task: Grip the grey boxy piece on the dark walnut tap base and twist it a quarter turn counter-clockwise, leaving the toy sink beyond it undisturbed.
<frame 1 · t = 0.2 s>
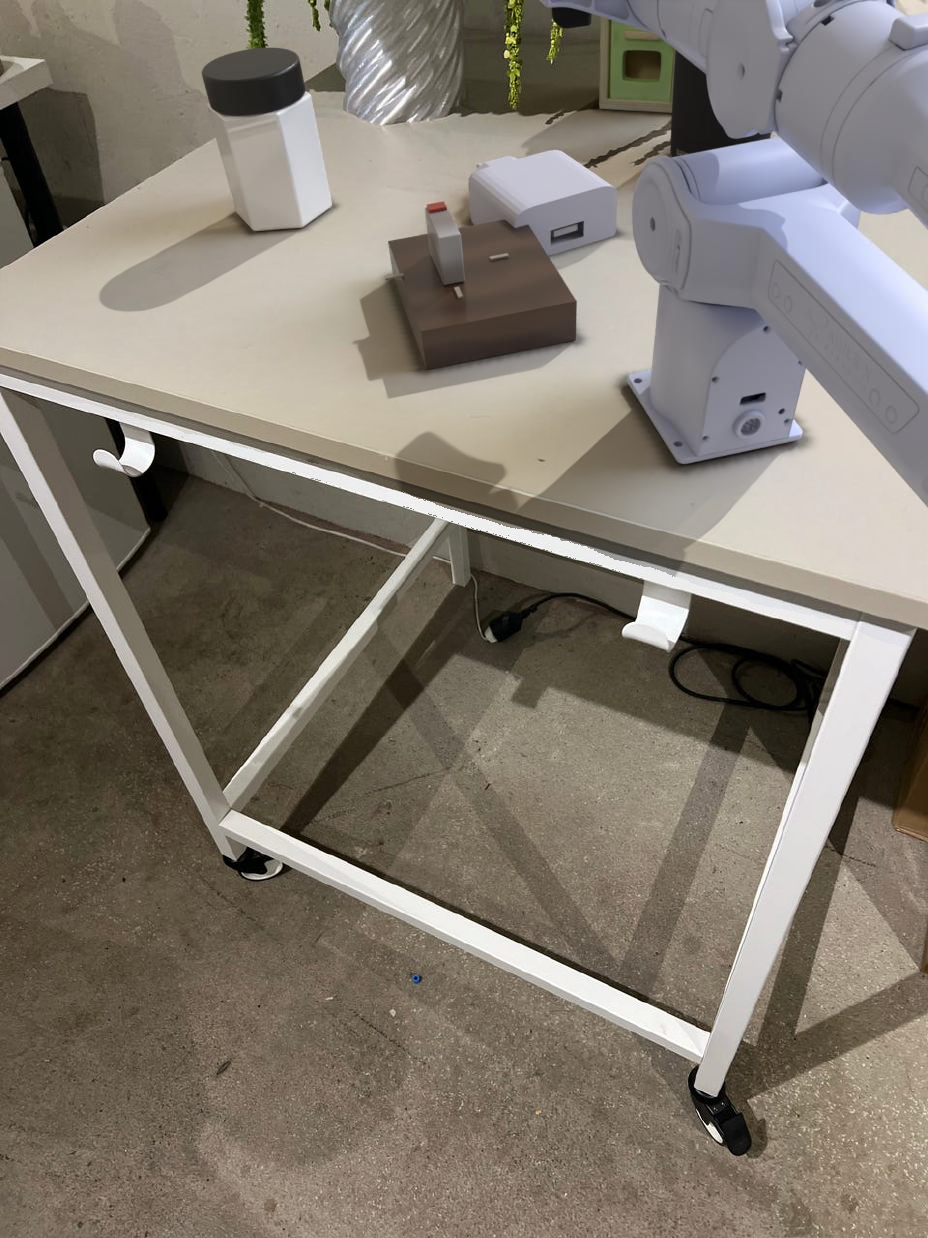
grey boxy piece: (444, 242, 63), point 5 cm above the table, hinge at 0.0°
tap base: (479, 306, 66), on the table
charger: (525, 223, 76), on the table
jar: (285, 212, 80), on the table
toy sink: (645, 102, 91), on the table
pen holder: (717, 158, 80), on the table
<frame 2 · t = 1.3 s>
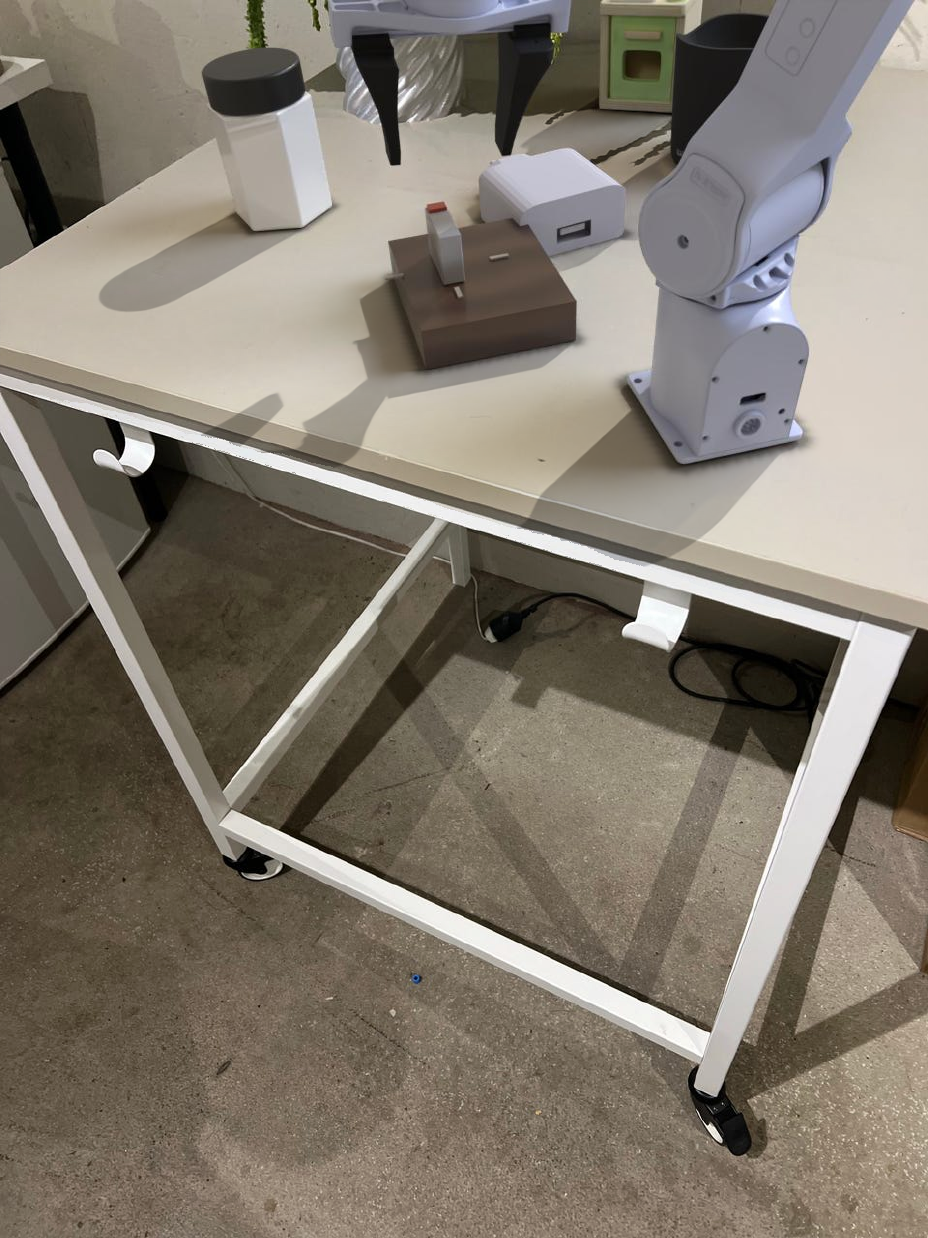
hand: (448, 153, 59), 11 cm above the table, tool pointing down, fingers open, 7 cm apart
charger: (535, 220, 76), on the table, touching tap base
everything else where it was.
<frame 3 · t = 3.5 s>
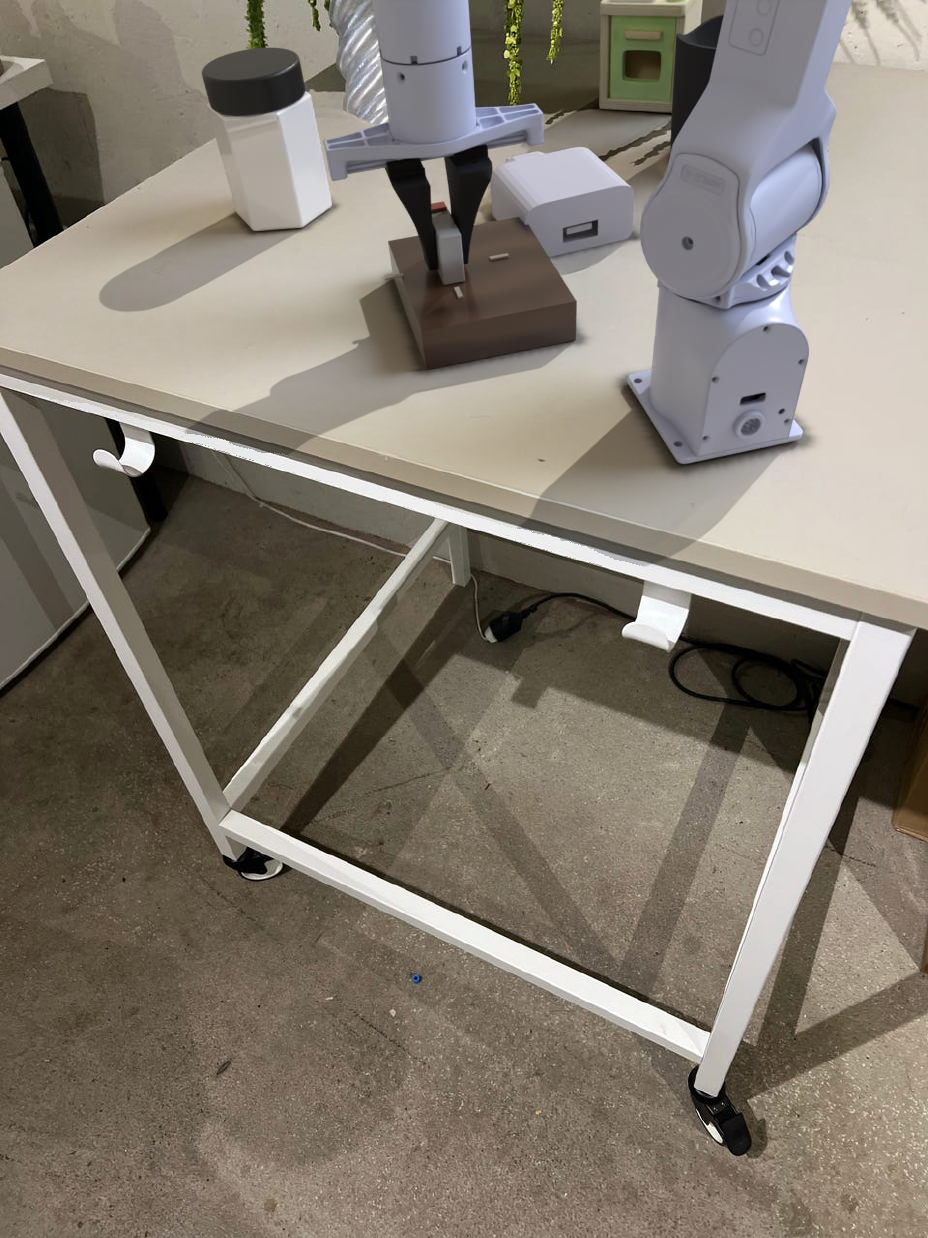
hand: (446, 261, 64), 4 cm above the table, tool pointing down, fingers closed on grey boxy piece, 2 cm apart
grey boxy piece: (444, 242, 63), point 5 cm above the table, hinge at 0.0°, touching gripper
charger: (547, 219, 76), on the table, touching tap base
everything else where it was.
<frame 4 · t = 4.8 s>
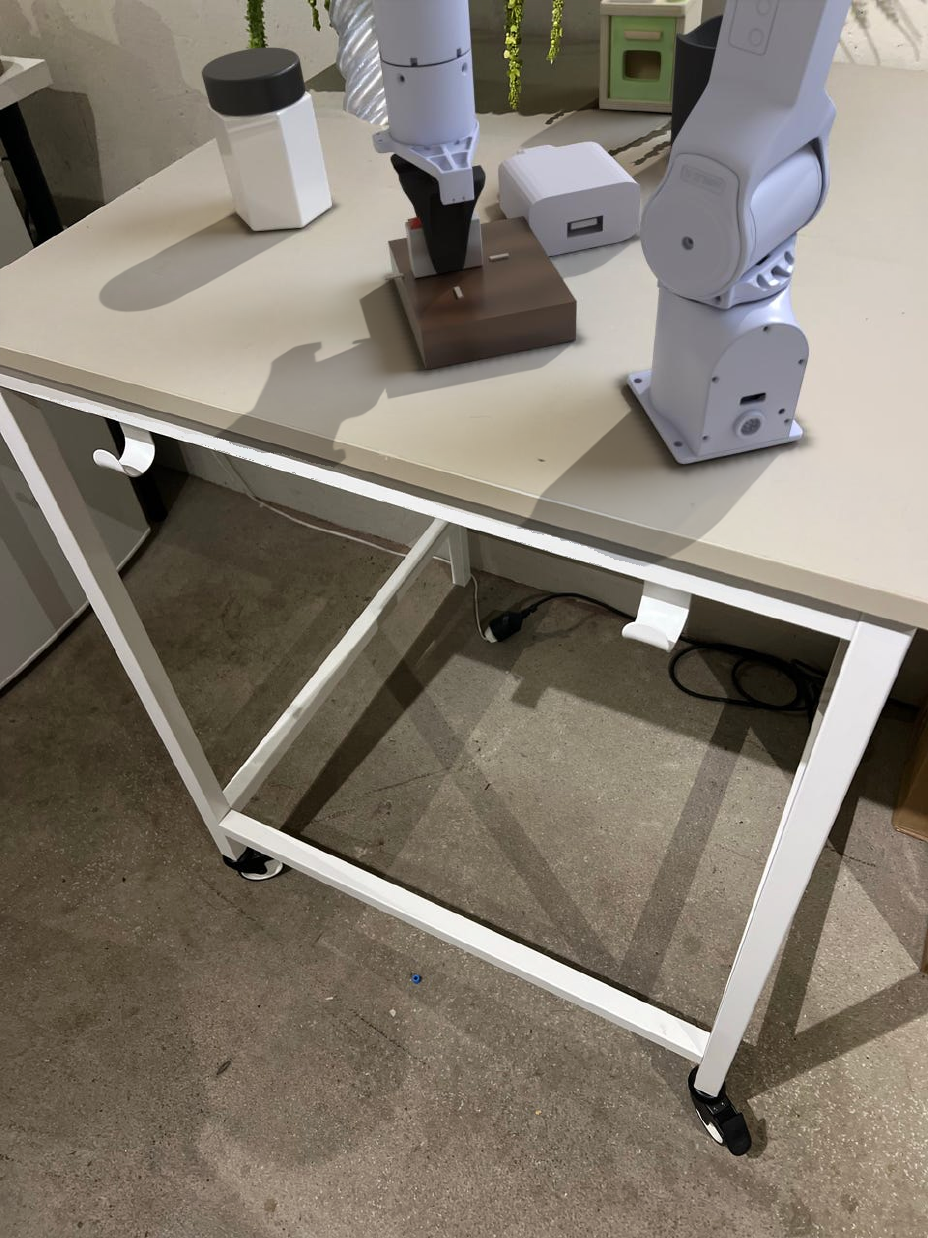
hand: (446, 262, 64), 3 cm above the table, tool pointing down, fingers closed on grey boxy piece, 2 cm apart
grey boxy piece: (444, 242, 63), point 5 cm above the table, hinge at 90.0°, touching gripper
charger: (555, 213, 76), on the table
everything else where it was.
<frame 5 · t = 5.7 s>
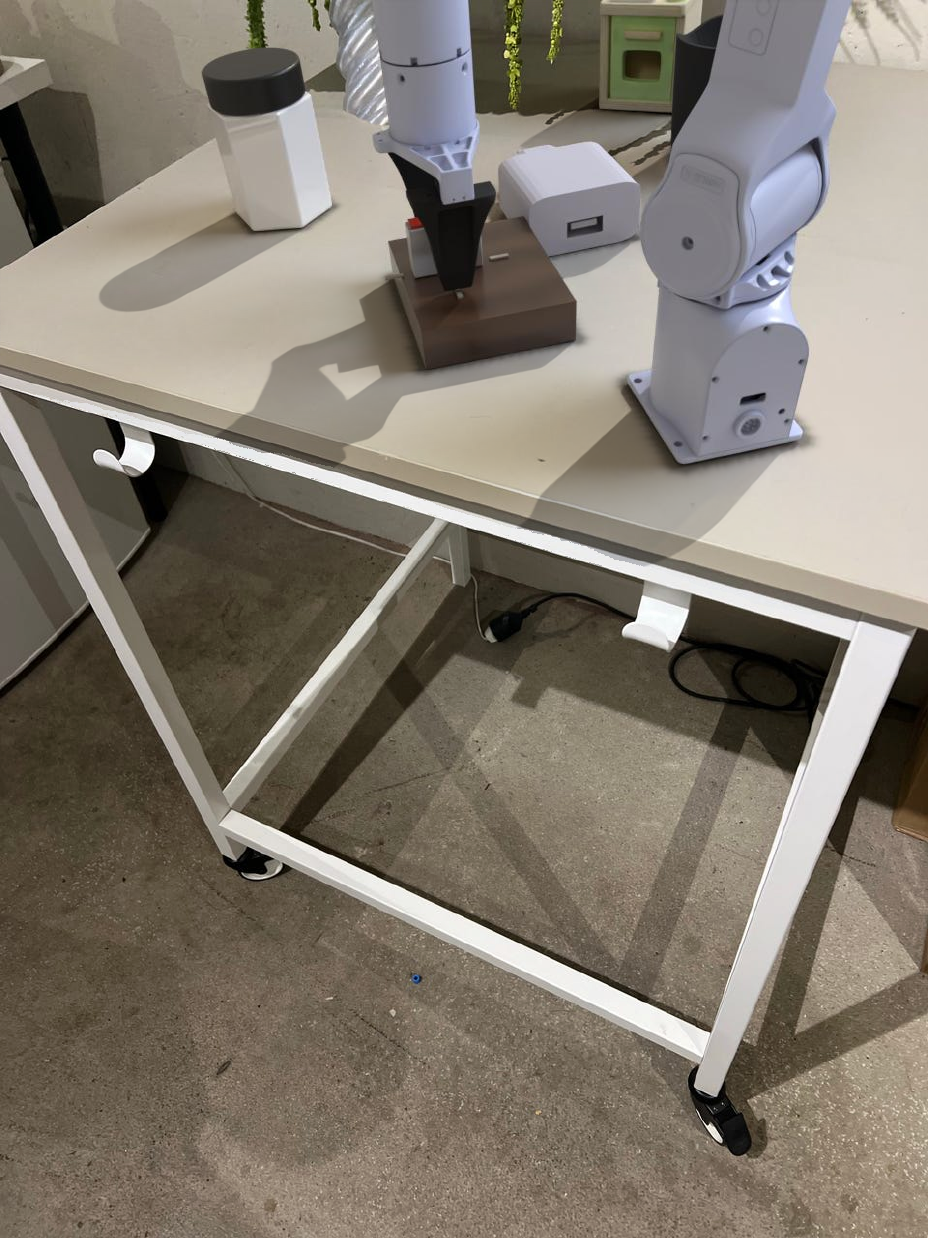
hand: (446, 262, 64), 3 cm above the table, tool pointing down, fingers open, 7 cm apart
grey boxy piece: (444, 242, 63), point 5 cm above the table, hinge at 90.0°
everything else where it was.
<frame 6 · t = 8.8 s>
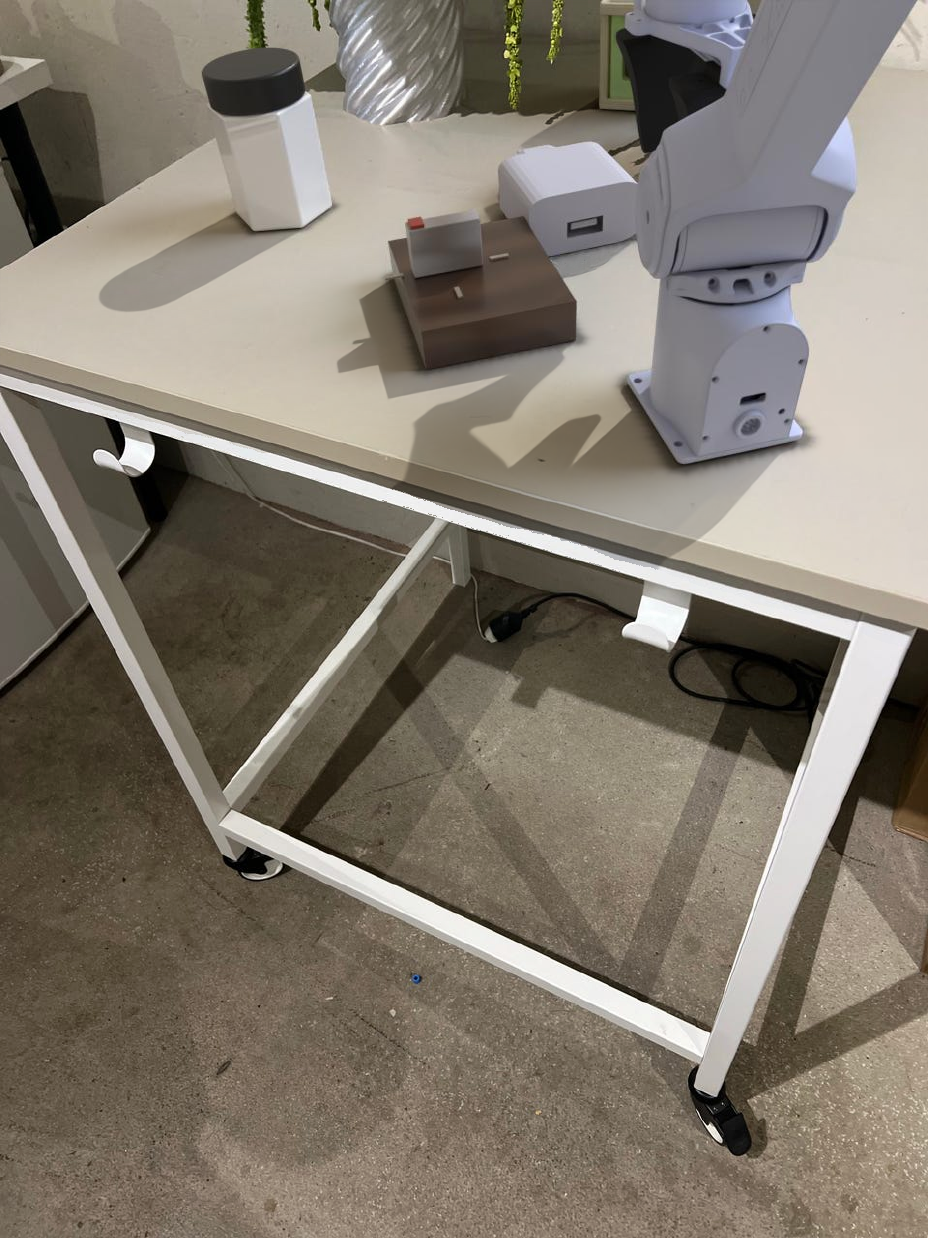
hand: (677, 171, 57), 9 cm above the table, tool pointing down, fingers open, 7 cm apart
nothing on the table moved.
at the end: grey boxy piece at +90° (first picture: +0°); toy sink moved 0.2 cm from its start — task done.
